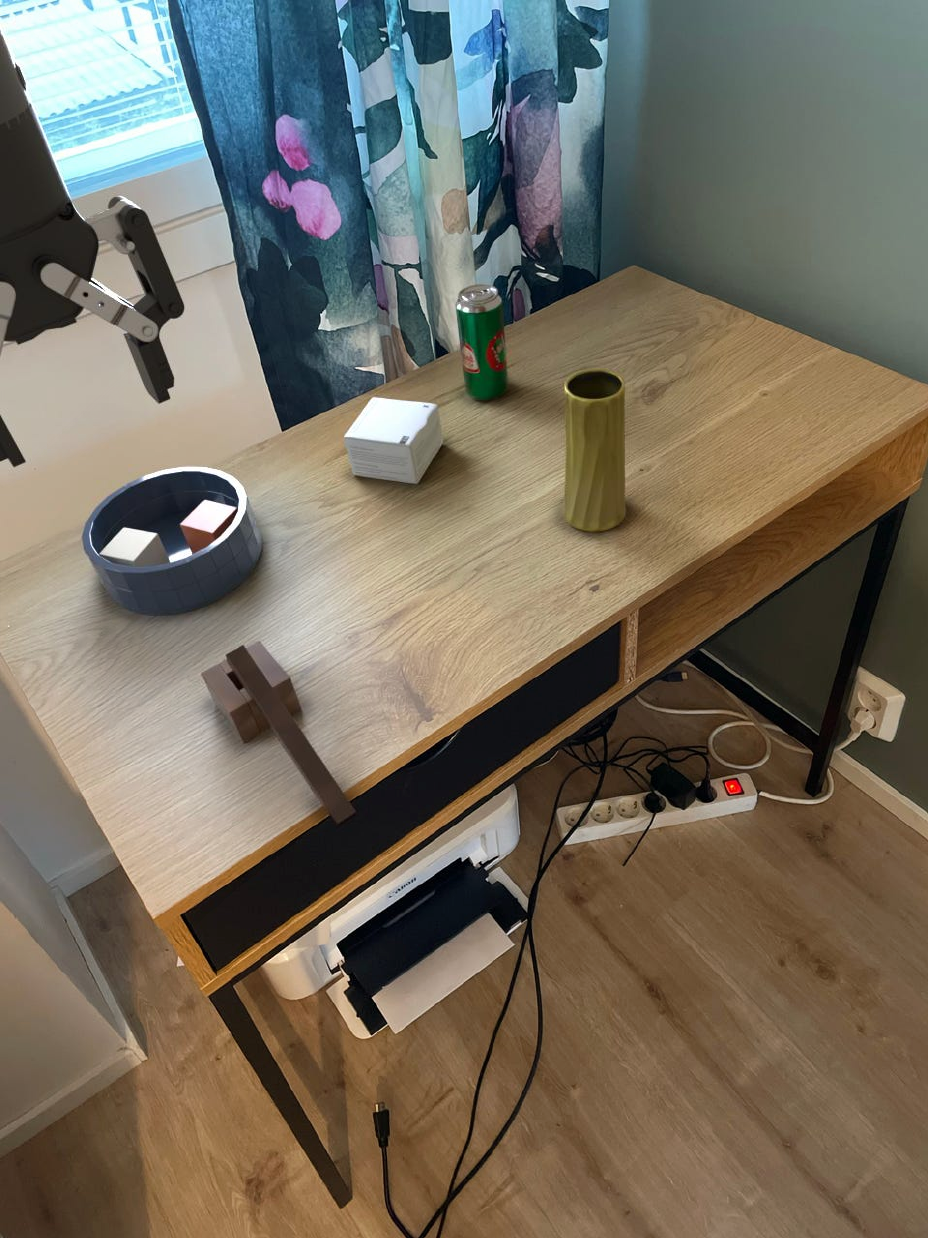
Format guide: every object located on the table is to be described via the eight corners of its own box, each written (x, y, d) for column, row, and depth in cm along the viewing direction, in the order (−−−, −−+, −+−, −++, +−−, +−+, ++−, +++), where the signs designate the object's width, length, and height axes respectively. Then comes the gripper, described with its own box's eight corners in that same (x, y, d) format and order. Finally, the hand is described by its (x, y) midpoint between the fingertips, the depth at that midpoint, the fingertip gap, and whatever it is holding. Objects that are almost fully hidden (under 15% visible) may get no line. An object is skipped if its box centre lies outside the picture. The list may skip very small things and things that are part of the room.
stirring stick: (226, 662, 71) (337, 829, 66) (224, 654, 69) (337, 824, 65) (244, 652, 71) (355, 817, 67) (243, 643, 70) (356, 812, 66)
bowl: (140, 641, 81) (117, 598, 77) (82, 556, 91) (59, 514, 87) (289, 561, 87) (275, 518, 83) (220, 490, 96) (204, 447, 92)
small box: (380, 434, 101) (372, 394, 97) (445, 443, 98) (439, 402, 94) (350, 476, 96) (341, 436, 92) (418, 486, 93) (411, 445, 90)
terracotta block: (225, 564, 87) (212, 533, 84) (192, 555, 88) (179, 524, 85) (248, 538, 89) (237, 507, 86) (216, 530, 91) (204, 499, 88)
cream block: (149, 592, 85) (133, 561, 82) (114, 585, 86) (98, 554, 83) (172, 564, 88) (158, 533, 85) (138, 557, 89) (123, 526, 86)
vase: (553, 503, 89) (548, 376, 79) (609, 486, 90) (611, 358, 80) (578, 540, 85) (576, 410, 75) (637, 521, 86) (643, 391, 76)
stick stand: (243, 744, 72) (229, 713, 69) (215, 704, 75) (200, 673, 72) (301, 708, 74) (290, 677, 71) (271, 671, 77) (259, 640, 74)
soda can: (460, 385, 106) (448, 288, 97) (500, 375, 107) (492, 278, 98) (473, 407, 103) (462, 308, 94) (514, 396, 103) (507, 297, 95)
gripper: (68, 55, 44) (178, 355, 55) (-248, 141, 39) (-54, 452, 50) (124, 81, 39) (231, 403, 51) (-225, 183, 34) (-18, 514, 46)
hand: (89, 427), depth 50 cm, fingers open, 8 cm apart
